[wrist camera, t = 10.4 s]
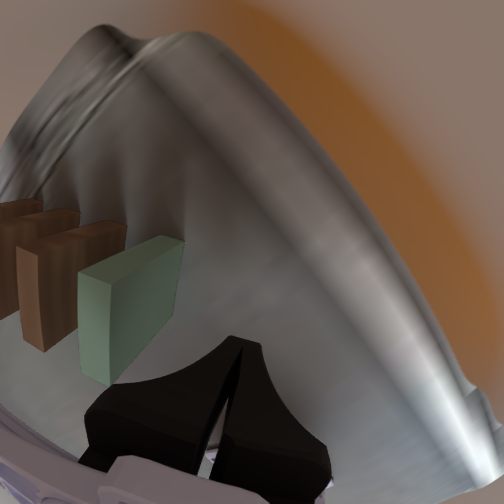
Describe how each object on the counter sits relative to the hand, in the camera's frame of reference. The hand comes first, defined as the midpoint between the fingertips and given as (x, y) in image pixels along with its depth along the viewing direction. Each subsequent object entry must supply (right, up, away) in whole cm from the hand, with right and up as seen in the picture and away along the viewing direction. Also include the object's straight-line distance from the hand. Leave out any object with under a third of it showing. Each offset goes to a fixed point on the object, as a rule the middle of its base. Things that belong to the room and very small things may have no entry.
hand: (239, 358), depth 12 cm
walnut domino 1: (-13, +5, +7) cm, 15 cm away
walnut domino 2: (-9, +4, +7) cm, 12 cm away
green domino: (-5, +3, +6) cm, 8 cm away
